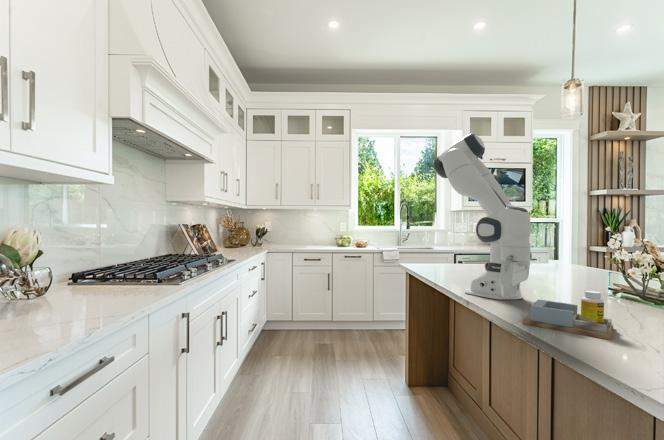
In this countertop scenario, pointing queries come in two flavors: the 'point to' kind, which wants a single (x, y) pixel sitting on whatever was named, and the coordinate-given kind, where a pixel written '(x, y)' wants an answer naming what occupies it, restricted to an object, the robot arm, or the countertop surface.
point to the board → (578, 327)
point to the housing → (553, 312)
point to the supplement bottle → (592, 307)
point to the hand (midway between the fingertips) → (514, 296)
